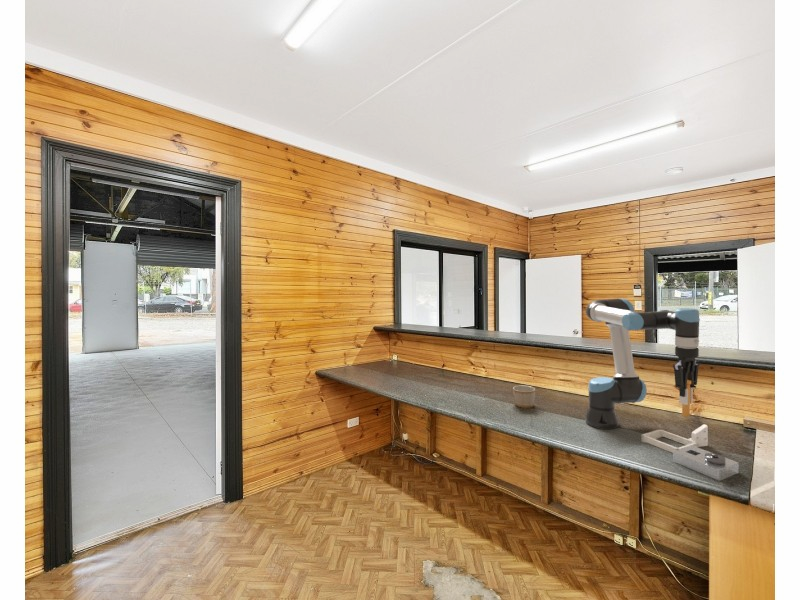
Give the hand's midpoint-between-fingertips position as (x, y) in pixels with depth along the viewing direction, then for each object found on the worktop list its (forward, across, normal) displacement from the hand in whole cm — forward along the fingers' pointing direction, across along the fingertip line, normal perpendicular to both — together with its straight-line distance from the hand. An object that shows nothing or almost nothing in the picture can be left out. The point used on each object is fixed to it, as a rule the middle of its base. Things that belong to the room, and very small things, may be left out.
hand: (685, 403), depth 150 cm
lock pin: (+5, 0, 0) cm, 5 cm away
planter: (+25, -15, +81) cm, 86 cm away
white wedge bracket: (+24, +16, +4) cm, 29 cm away
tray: (+24, +5, +10) cm, 27 cm away
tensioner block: (+24, -2, -8) cm, 25 cm away
